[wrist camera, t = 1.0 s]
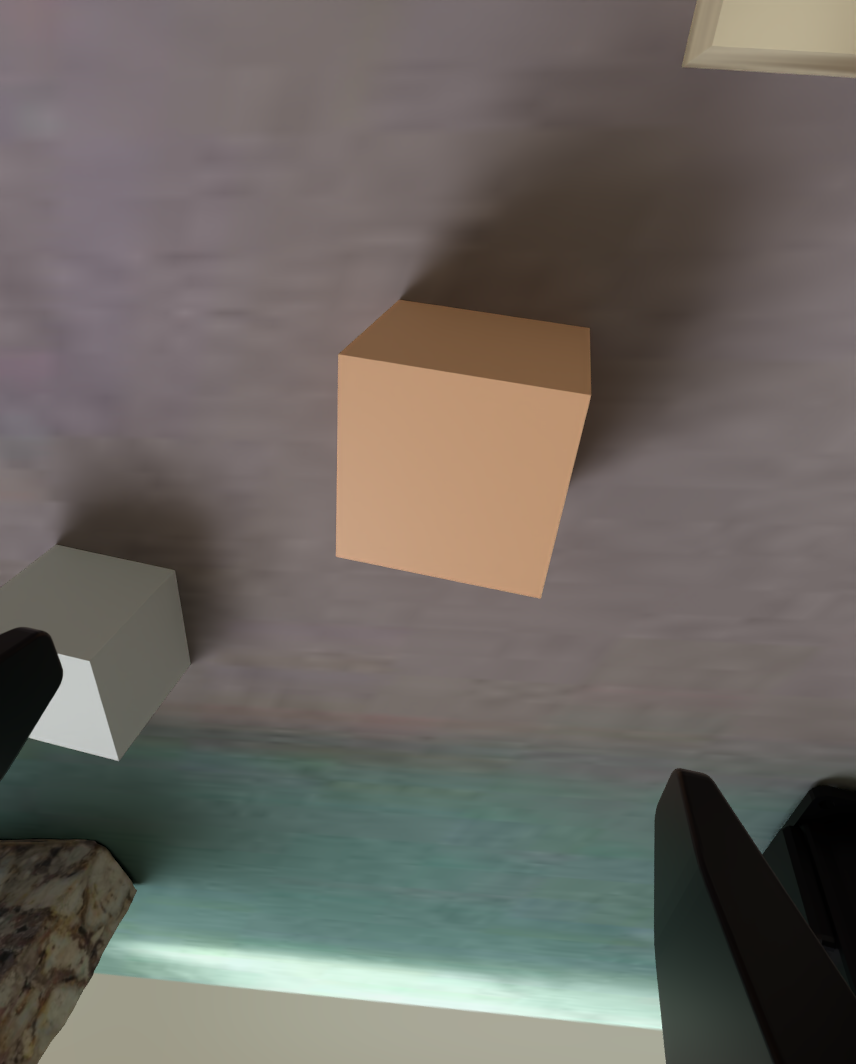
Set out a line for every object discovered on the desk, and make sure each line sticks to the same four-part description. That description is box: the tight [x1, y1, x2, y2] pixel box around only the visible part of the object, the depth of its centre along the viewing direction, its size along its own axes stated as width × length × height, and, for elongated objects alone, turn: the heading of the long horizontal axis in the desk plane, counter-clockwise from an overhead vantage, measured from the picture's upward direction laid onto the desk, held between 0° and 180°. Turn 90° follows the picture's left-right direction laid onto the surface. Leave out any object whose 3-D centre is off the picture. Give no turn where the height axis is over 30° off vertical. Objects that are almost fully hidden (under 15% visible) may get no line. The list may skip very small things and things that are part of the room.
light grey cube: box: [0, 545, 191, 761], centre depth 23 cm, size 5×5×5 cm
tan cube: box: [336, 300, 591, 599], centre depth 16 cm, size 5×5×5 cm
